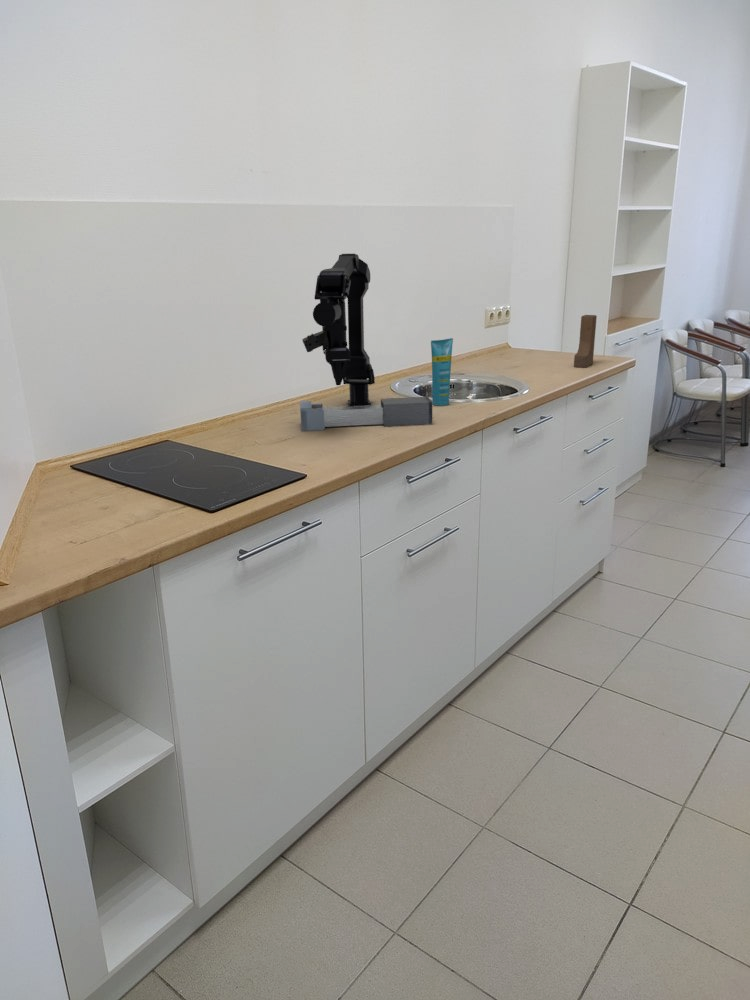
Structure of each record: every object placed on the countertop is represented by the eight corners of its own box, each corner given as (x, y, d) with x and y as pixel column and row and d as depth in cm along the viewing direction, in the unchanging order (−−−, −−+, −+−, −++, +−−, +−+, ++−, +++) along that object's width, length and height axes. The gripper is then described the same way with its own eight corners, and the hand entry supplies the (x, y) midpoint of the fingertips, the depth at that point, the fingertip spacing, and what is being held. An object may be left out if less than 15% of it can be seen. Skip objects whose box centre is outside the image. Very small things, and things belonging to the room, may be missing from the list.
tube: (436, 407, 215) (436, 341, 209) (426, 404, 219) (426, 339, 212) (455, 403, 219) (457, 338, 212) (445, 401, 223) (446, 336, 216)
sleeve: (381, 420, 203) (380, 398, 200) (427, 417, 204) (427, 396, 202) (384, 426, 196) (383, 404, 194) (432, 424, 197) (432, 402, 195)
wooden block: (585, 368, 268) (589, 317, 262) (573, 367, 271) (576, 317, 264) (593, 364, 275) (597, 315, 269) (581, 363, 278) (584, 314, 271)
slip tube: (312, 423, 199) (311, 407, 198) (392, 420, 201) (392, 403, 200) (312, 427, 195) (311, 411, 194) (394, 423, 198) (394, 407, 196)
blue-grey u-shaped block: (301, 423, 201) (299, 401, 199) (323, 422, 201) (322, 400, 199) (301, 431, 193) (300, 407, 191) (324, 429, 194) (323, 406, 192)
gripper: (302, 318, 196) (305, 376, 202) (304, 327, 179) (307, 390, 184) (343, 317, 198) (346, 374, 203) (349, 325, 180) (351, 388, 186)
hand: (337, 381), depth 194 cm, fingers open, 9 cm apart
